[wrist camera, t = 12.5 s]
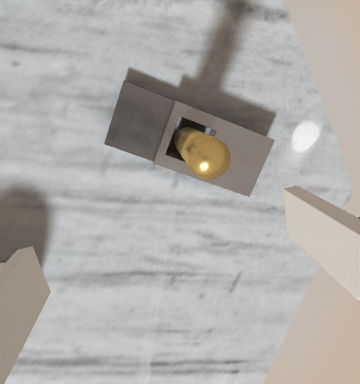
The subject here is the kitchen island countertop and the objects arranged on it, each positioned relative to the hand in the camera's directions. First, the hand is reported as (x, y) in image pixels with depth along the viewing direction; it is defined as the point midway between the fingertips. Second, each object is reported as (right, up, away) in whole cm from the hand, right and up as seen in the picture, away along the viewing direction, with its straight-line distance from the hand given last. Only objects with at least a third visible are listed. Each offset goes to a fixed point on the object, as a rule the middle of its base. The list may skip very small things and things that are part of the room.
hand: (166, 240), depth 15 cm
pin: (+2, +9, +24) cm, 26 cm away
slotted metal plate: (+2, +9, +24) cm, 26 cm away
